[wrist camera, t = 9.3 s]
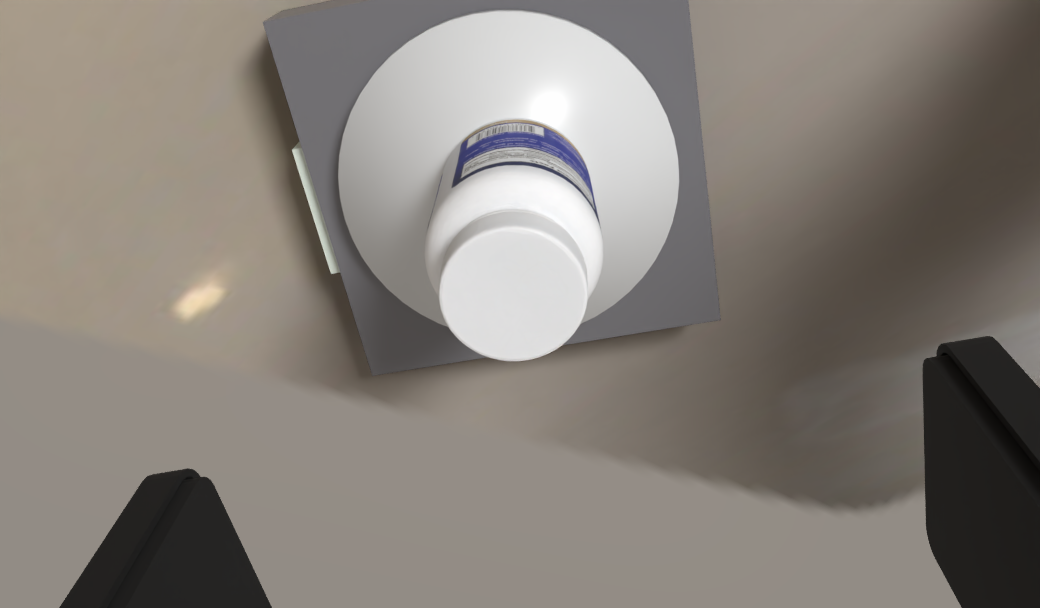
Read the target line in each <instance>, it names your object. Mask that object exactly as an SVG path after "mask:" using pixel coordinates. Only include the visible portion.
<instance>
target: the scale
mask: <svg viewBox="0 0 1040 608" xmlns="http://www.w3.org/2000/svg"><path fill="white" fill-rule="evenodd" d="M263 24H264V28H265V31H266V34H267V37H268V41H269V44H270V47H271V50H272V54H273V57H274V60H275V63H276V66H277V70H278V73H279V76H280V79H281V83H282V86H283V89H284V92H285V96H286V99H287V102H288V105H289V108H290V112H291V115H292V118H293V121H294V125H295V128H296V131H297V134H298V138H299V142H298V143H297V145H296V146H295V147H294V148H293V149H292V152H293V155H294V158H295V161H296V165H297V168H298V171H299V174H300V177H301V180H302V184H303V187H304V190H305V193H306V196H307V199H308V203H309V206H310V209H311V212H312V215H313V219H314V222H315V225H316V228H317V231H318V234H319V238H320V241H321V244H322V247H323V250H324V253H325V257H326V260H327V263H328V266H329V269H330V272H331V274H333V273H339V272H340V273H341V276H342V280H343V283H344V286H345V289H346V292H347V296H348V299H349V302H350V305H351V309H352V312H353V315H354V318H355V322H356V325H357V328H358V331H359V334H360V338H361V341H362V344H363V347H364V351H365V354H366V357H367V360H368V364H369V367H370V370H371V373H372V376H374V375H380V374H386V373H393V372H399V371H405V370H411V369H418V368H424V367H430V366H436V365H443V364H449V363H455V362H461V361H468V360H474V359H480V358H486V356H484V355H481V354H479V353H477V352H475V351H473V350H472V349H470V348H469V347H467V346H466V345H464V344H463V343H462V342H461V341H460V340H459V339H458V338H457V337H456V336H455V335H454V334H453V333H452V331H451V330H450V329H449V327H448V326H447V324H446V322H445V320H444V318H443V315H442V312H441V310H440V305H439V298H438V295H437V294H436V292H435V290H434V288H433V286H432V284H431V282H430V279H429V277H428V273H427V269H426V264H425V255H424V254H425V238H426V233H427V228H428V224H429V220H430V217H431V213H432V210H433V207H434V203H435V200H436V196H437V192H438V187H439V184H440V180H441V176H442V174H443V170H444V168H445V165H446V162H447V160H448V158H449V156H450V155H451V153H452V151H453V150H454V149H455V148H456V146H457V145H458V144H459V143H460V142H461V141H462V140H463V139H464V138H465V137H466V136H467V135H468V134H470V133H471V132H472V131H474V130H475V129H477V128H479V127H480V126H482V125H484V124H487V123H490V122H492V121H496V120H500V119H506V118H526V119H532V120H536V121H540V122H542V123H545V124H547V125H550V126H552V127H553V128H555V129H557V130H558V131H560V132H561V133H562V134H564V135H565V136H566V137H567V138H568V139H569V140H570V141H571V142H572V143H573V144H574V145H575V146H576V148H577V149H578V150H579V152H580V153H581V155H582V157H583V159H584V161H585V163H586V165H587V168H588V172H589V175H590V180H591V184H592V189H593V195H594V200H595V204H596V207H597V213H598V218H599V222H600V227H601V232H602V238H603V264H602V269H601V274H600V277H599V280H598V282H597V285H596V287H595V289H594V291H593V293H592V294H591V296H590V297H589V299H588V301H587V307H586V311H585V314H584V317H583V319H582V321H581V323H580V325H579V327H578V328H577V330H576V331H575V333H574V334H573V335H572V336H571V337H570V338H569V339H568V340H567V341H566V342H565V343H564V344H563V345H568V344H574V343H580V342H586V341H593V340H599V339H605V338H611V337H618V336H624V335H630V334H636V333H643V332H649V331H655V330H661V329H668V328H674V327H680V326H686V325H692V324H699V323H705V322H711V321H717V320H721V318H720V308H719V298H718V288H717V279H716V269H715V259H714V249H713V239H712V229H711V220H710V210H709V200H708V190H707V180H706V170H705V161H704V151H703V141H702V131H701V121H700V111H699V101H698V92H697V82H696V72H695V62H694V52H693V42H692V33H691V23H690V13H689V3H688V0H332V1H327V2H322V3H318V4H313V5H308V6H303V7H298V8H293V9H288V10H283V11H281V12H279V13H277V14H275V15H274V16H272V17H270V18H269V19H267V20H265V21H264V22H263Z"/></svg>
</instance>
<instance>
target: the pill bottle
mask: <svg viewBox="0 0 1040 608" xmlns="http://www.w3.org/2000/svg"><path fill="white" fill-rule="evenodd" d="M424 255H425V264H426V269H427V273H428V277H429V279H430V282H431V284H432V286H433V288H434V290H435V292H436V294H437V295H438V298H439V305H440V310H441V312H442V315H443V318H444V320H445V322H446V324H447V326H448V327H449V329H450V330H451V331H452V333H453V334H454V335H455V336H456V337H457V338H458V339H459V340H460V341H461V342H462V343H463V344H464V345H466V346H467V347H469V348H470V349H472V350H473V351H475V352H477V353H479V354H481V355H484V356H486V357H489V358H493V359H497V360H503V361H524V360H531V359H535V358H538V357H541V356H544V355H546V354H549V353H551V352H552V351H554V350H556V349H557V348H559V347H560V346H562V345H563V344H564V343H565V342H566V341H567V340H568V339H569V338H570V337H571V336H572V335H573V334H574V333H575V331H576V330H577V328H578V327H579V325H580V323H581V321H582V319H583V317H584V314H585V311H586V307H587V301H588V299H589V297H590V296H591V294H592V293H593V291H594V289H595V287H596V285H597V282H598V280H599V277H600V274H601V269H602V264H603V238H602V232H601V227H600V222H599V218H598V213H597V207H596V204H595V200H594V195H593V189H592V184H591V180H590V175H589V172H588V168H587V165H586V163H585V161H584V159H583V157H582V155H581V153H580V152H579V150H578V149H577V148H576V146H575V145H574V144H573V143H572V142H571V141H570V140H569V139H568V138H567V137H566V136H565V135H564V134H562V133H561V132H560V131H558V130H557V129H555V128H553V127H552V126H550V125H547V124H545V123H542V122H540V121H536V120H532V119H526V118H506V119H500V120H496V121H492V122H490V123H487V124H484V125H482V126H480V127H479V128H477V129H475V130H474V131H472V132H471V133H470V134H468V135H467V136H466V137H465V138H464V139H463V140H462V141H461V142H460V143H459V144H458V145H457V146H456V148H455V149H454V150H453V151H452V153H451V155H450V156H449V158H448V160H447V162H446V165H445V168H444V170H443V174H442V176H441V180H440V184H439V187H438V192H437V196H436V200H435V203H434V207H433V210H432V213H431V217H430V220H429V224H428V228H427V233H426V238H425V254H424Z"/></svg>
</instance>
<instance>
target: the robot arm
mask: <svg viewBox="0 0 1040 608" xmlns="http://www.w3.org/2000/svg"><path fill="white" fill-rule="evenodd" d="M923 408H924V454H925V500H926V530H927V535H928V540H929V544H930V547H931V550H932V552H933V554H934V557H935V559H936V560H937V563H938V564H939V566H940V568H941V570H942V572H943V574H944V575H945V577H946V579H947V581H948V583H949V585H950V587H951V589H952V590H953V592H954V594H955V596H956V598H957V600H958V602H959V603H960V605H961V607H962V608H1040V388H1039V387H1038V386H1037V385H1036V384H1035V383H1034V382H1033V380H1032V379H1031V378H1030V377H1029V376H1028V375H1027V374H1026V373H1025V372H1024V370H1023V369H1022V368H1021V367H1020V366H1019V365H1018V364H1017V363H1016V362H1015V361H1014V359H1013V358H1012V357H1011V356H1010V355H1009V354H1008V353H1007V352H1006V351H1005V349H1004V348H1003V347H1002V346H1001V345H1000V344H999V343H998V342H997V341H996V340H995V339H994V338H993V337H990V336H985V337H979V338H973V339H967V340H961V341H955V342H949V343H943V344H941V345H940V346H939V347H938V350H937V357H931V358H926V359H925V360H924V363H923ZM60 608H272V607H271V605H270V603H269V601H268V599H267V597H266V594H265V592H264V590H263V588H262V586H261V584H260V582H259V580H258V577H257V575H256V573H255V571H254V569H253V567H252V565H251V563H250V561H249V558H248V556H247V554H246V552H245V550H244V548H243V546H242V544H241V541H240V539H239V537H238V535H237V533H236V531H235V529H234V527H233V525H232V522H231V520H230V518H229V516H228V514H227V512H226V510H225V508H224V505H223V503H222V501H221V499H220V497H219V495H218V493H217V491H216V489H215V486H214V485H213V483H212V482H211V480H209V479H208V478H207V477H200V476H199V474H198V473H197V472H196V471H195V470H193V469H183V470H177V471H171V472H165V473H159V474H153V475H150V476H147V477H146V478H145V479H144V480H143V481H142V483H141V484H140V486H139V487H138V489H137V490H136V492H135V494H134V495H133V497H132V498H131V500H130V501H129V503H128V504H127V506H126V507H125V509H124V510H123V512H122V513H121V515H120V516H119V518H118V519H117V521H116V522H115V524H114V525H113V527H112V529H111V530H110V532H109V533H108V535H107V536H106V538H105V539H104V541H103V542H102V544H101V545H100V547H99V548H98V550H97V551H96V553H95V554H94V556H93V557H92V559H91V561H90V562H89V563H88V565H87V567H86V568H85V570H84V571H83V573H82V574H81V576H80V577H79V579H78V580H77V582H76V583H75V585H74V586H73V588H72V589H71V591H70V592H69V594H68V595H67V597H66V598H65V600H64V602H63V603H62V604H61V606H60Z"/></svg>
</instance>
